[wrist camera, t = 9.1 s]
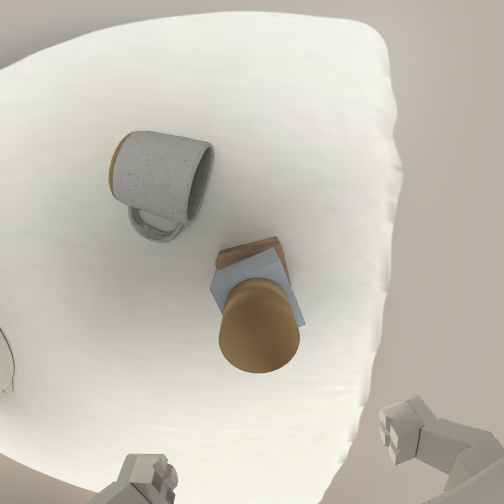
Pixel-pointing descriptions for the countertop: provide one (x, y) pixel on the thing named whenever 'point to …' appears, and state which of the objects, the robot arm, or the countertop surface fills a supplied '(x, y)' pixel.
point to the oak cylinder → (258, 327)
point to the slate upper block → (254, 267)
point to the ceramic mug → (160, 178)
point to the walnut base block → (250, 253)
